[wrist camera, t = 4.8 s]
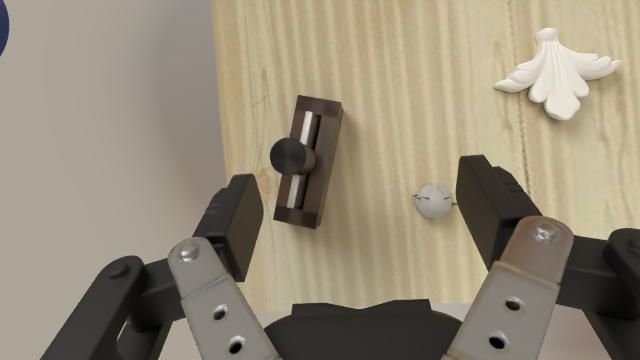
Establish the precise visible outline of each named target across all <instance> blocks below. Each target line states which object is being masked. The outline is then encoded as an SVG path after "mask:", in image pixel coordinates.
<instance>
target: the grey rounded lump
mask: <svg viewBox="0 0 640 360" xmlns="http://www.w3.org/2000/svg"><path fill="white" fill-rule="evenodd" d="M413 196H415V206H416V208H417V209H418V211H419V212H420V213H421V214H422V215H423V216H424V217H427V218H439V217H442V216H444V215H445V214H447V213H448V212H449V210H450V209H451V207H452V205H458V204H456V203H453V199H452V195H451V193H450V192H449V191H448V190H447V189H446V188H445V187H443V186H440V185H436V184H427V185H425V186H423V187H422V188H420V190H419V191H418V192H417V194H416V195H413Z"/></svg>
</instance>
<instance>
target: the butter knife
mask: <svg viewBox="0 0 640 360" xmlns="http://www.w3.org/2000/svg"><path fill="white" fill-rule="evenodd" d="M319 126H320V120H319V119H318V118H317V117H316V115H315V114H314V113H313V112H310V111H306V113H305V118H304V123H303V128H302V133H301V138H300V141H298V140H296V139H294V138H283V139H280V140H279V141H277V142H276V143H275V144H274V146H273V147H272V149H271V152H270V161H271V164H272V166H273V167H274V169H275V170H276V171H277V172H279V173H281V174H284V175H293V178H292V183H291V188H290V193H289V198H288V203H287V207H289V208H296V207H299V206H301V205H304V200H305V195H306V190H307V185H308V180H309V175H310V171H311V170H312V169H313V167H314V165H315V154H314V151H315V146H316V141H317V136H318V131H319Z"/></svg>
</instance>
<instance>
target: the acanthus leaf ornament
mask: <svg viewBox="0 0 640 360" xmlns="http://www.w3.org/2000/svg"><path fill="white" fill-rule="evenodd" d="M535 39H536V42H537V44H538V49H537V52H536V54H535V56H534V58H533V59H532V60H531V61H529V62H526V63H522V64H520V65H517V66H516V67H515V68H514V69H513V71H512V74H510V75H509V76H507V77H506V79H505V80H502V81H499V82H497V83H495V84H494V86H493V87H494V89H499V90H503V91H506V92H510V93H514V92H519V91H521V90H524V89H526V88H527V87H530V89H529V93H528V98H529V100H531V101H533V102H536V103H541V102H543V106H544V108H545V110H546V112H547V114H548V115H549V116H550V117H552V118H555V119H557V120H561V121H567V120H570V119H571V118H572V117H573V115H574V114H575V112H576V111H577V110H579V108H580V102H579V101H578V99H577V98H584V97H586V96H587V95H588V94H589V88H588V85H587V84H586V82H585V81H584V80H593V79H598V78H602V77H605V76H607V75H609V74H610V73H612V72H613V71H615V70H616V69H617V68H618V67H619V66H620V65H621V64H622V61H621V60H617V61H613V62H611V58H610V57H609V56H605V57H602V58H600V59H598V60H597V58H598V55H597V54H593V53H590V54H582V53H577V52H573V51H571V50H569V49H567V48H565V47H564V46H562V45H561V44H560V42H559V41H558V32H557V31H556V30H555V29H553V28H545V29H542V30H540V31H539V32H538V33H537V34H536V37H535Z"/></svg>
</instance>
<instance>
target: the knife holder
mask: <svg viewBox="0 0 640 360" xmlns="http://www.w3.org/2000/svg"><path fill="white" fill-rule="evenodd" d="M306 111H310V112H313V113H314V114H315V115H316V117H317V118H318V119H319V120H320V126H319V131H318V136H317V141H316V146H315V151H314V154H315V165H314V167H313V169H312V170H311V171H310V175H309V180H308V185H307V190H306V195H305V200H304V205H303V206H299V207H296V208H289V207H287V203H288V198H289V193H290V188H291V183H292V178H293V175H284V174H282V178H281V183H280V188H279V193H278V198H277V203H276V208H275V213H274V218H273V220H276V221H281V222H285V223H289V224H294V225H298V226H303V227H307V228H311V229H316V228H317V227H318V226H319V225H320V222H321V217H322V212H323V207H324V203H325V198H326V193H327V188H328V183H329V178H330V173H331V168H332V163H333V158H334V154H335V149H336V144H337V139H338V134H339V129H340V124H341V119H342V114H343V107H342V104H341V102H336V101H331V100H325V99H319V98H313V97H307V96H301V95H298V98H297V103H296V108H295V113H294V118H293V123H292V128H291V133H290V138H294V139H296V140H298V141H300V138H301V133H302V128H303V123H304V118H305V113H306Z"/></svg>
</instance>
